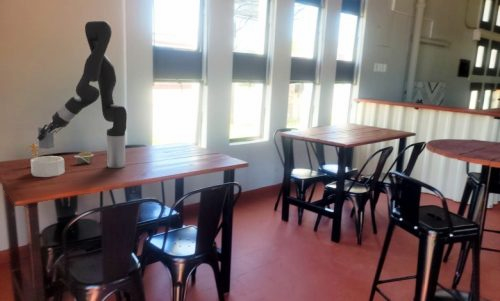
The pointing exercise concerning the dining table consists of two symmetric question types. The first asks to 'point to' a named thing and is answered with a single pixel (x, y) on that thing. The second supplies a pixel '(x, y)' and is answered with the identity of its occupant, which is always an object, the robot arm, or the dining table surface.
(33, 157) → the figurine
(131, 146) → the dining table surface
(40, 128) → the grey tall block
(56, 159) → the white round bowl
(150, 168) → the dining table surface
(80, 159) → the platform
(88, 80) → the robot arm
